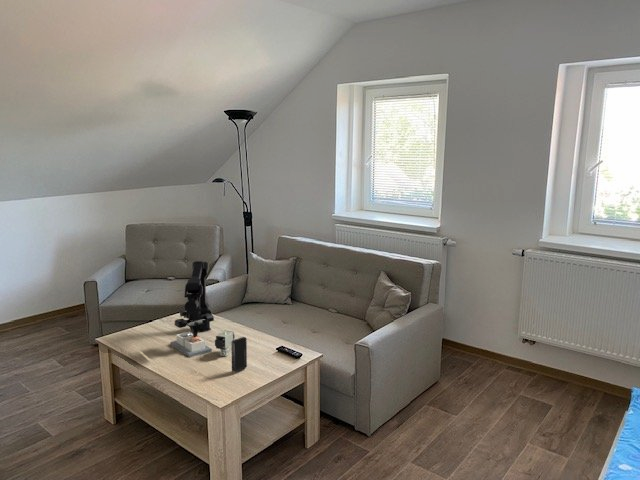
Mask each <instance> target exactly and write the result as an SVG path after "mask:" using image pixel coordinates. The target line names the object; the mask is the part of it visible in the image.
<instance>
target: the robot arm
mask: <svg viewBox="0 0 640 480" xmlns="http://www.w3.org/2000/svg"><path fill="white" fill-rule="evenodd" d="M191 270H192V272H191V277H190V278H189V279H188V280H187V282H186V284H185V289H184V297H183V298H187V299H186V300H187V301H186V302H185V303H184V309H181V310H179V317H180V318H177V319H175V320H174V326H176V327H177V328H179V329H181V328H186V327H189V329H190V332H191V333H192V334H193V336H194V337H196V336H197V335H198V333H199V332H200V333H203V332H207V331H211V330H212V328H211V323H210V322H214V321H215V317H214V315H213V314H212V313H213V311H212V310H211V308H210V305H209V303H208V302H207V289H206V288H207V287H206V283H207V282H206V276H207V275H208V272H209V270H210V264H209V262H207V261H203V260H195V261H193V262H192V263H191Z"/></svg>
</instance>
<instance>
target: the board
mask: <svg viewBox="0 0 640 480" xmlns="http://www.w3.org/2000/svg"><path fill="white" fill-rule="evenodd" d="M190 333H191V335H190V336H188V337H184V338H183V337H182V336H181V334H182V333H178V334H176V340H172V341H170V342H169V345H170V346H172V348H175V349H176V350H178V351H179V352H181V353H182V354H184V355H185V356H186V357H188V358H192V357H193V358H194V357H197V356H199V355H204V354H208V353H212V351H213V349H212V348H211V347H209V346H208V345H207V344H206V341H205V340H204V339H202V337H200V338H199V342H195V343H192V342H191V339H190V337H191V336H193V334H192V332H190Z"/></svg>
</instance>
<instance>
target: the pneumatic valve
mask: <svg viewBox="0 0 640 480" xmlns="http://www.w3.org/2000/svg"><path fill="white" fill-rule="evenodd" d="M235 337H236V336H235V334H234V331H231V330H223V331H222V332H219V333H218V334H217V335H215V339H214V346H215V348H216V349H218V350H219V351H220V357H225V358H226V357H228V356H229V355H230V354H231V353H230V350H231V349H230V347H231V342H232V340H234V339H236V338H235Z"/></svg>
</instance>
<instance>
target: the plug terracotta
mask: <svg viewBox="0 0 640 480" xmlns="http://www.w3.org/2000/svg"><path fill="white" fill-rule="evenodd" d="M199 338H201V337H200V335H198V334H197V336H196V337H194V336H191V337H190V339H191V342H192V343H195V342H199Z"/></svg>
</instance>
